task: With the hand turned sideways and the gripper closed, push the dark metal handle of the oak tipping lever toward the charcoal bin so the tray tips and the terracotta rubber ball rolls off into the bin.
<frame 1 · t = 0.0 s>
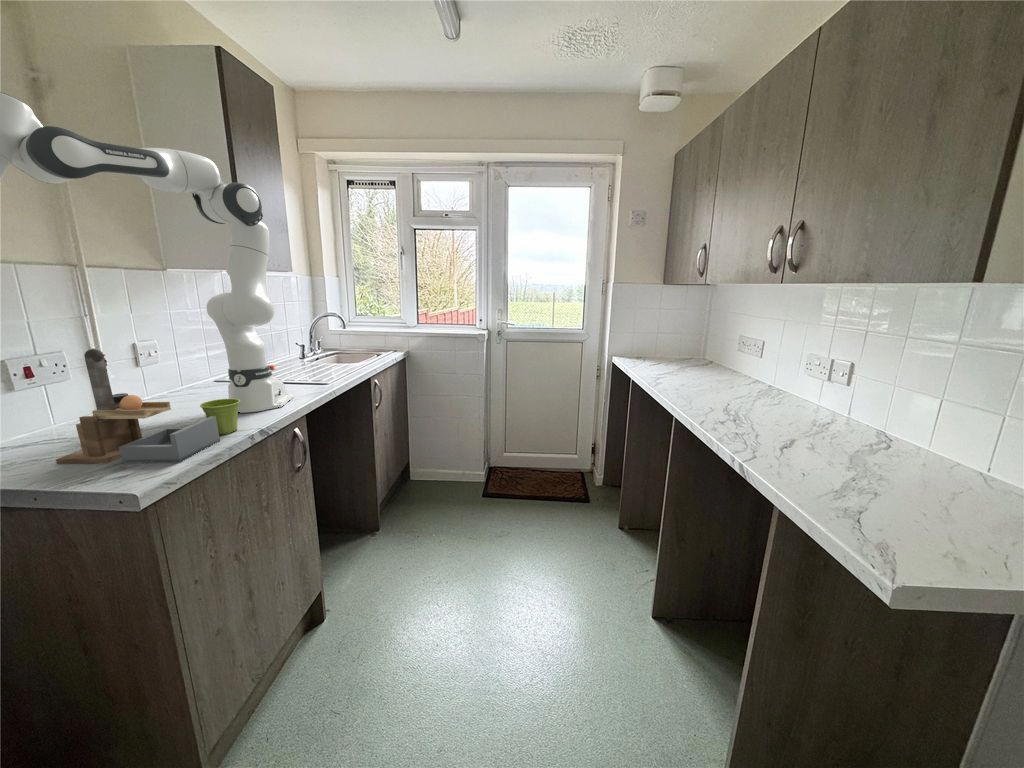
plant pot: (225, 432, 120), on the table
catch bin: (174, 451, 105), on the table
supplement bottle: (127, 433, 119), on the table
launcher: (123, 383, 101), point 18 cm above the table, hinge at 0.0°, touching ball
lever stand: (110, 452, 105), on the table
ball: (131, 403, 102), point 13 cm above the table, touching launcher
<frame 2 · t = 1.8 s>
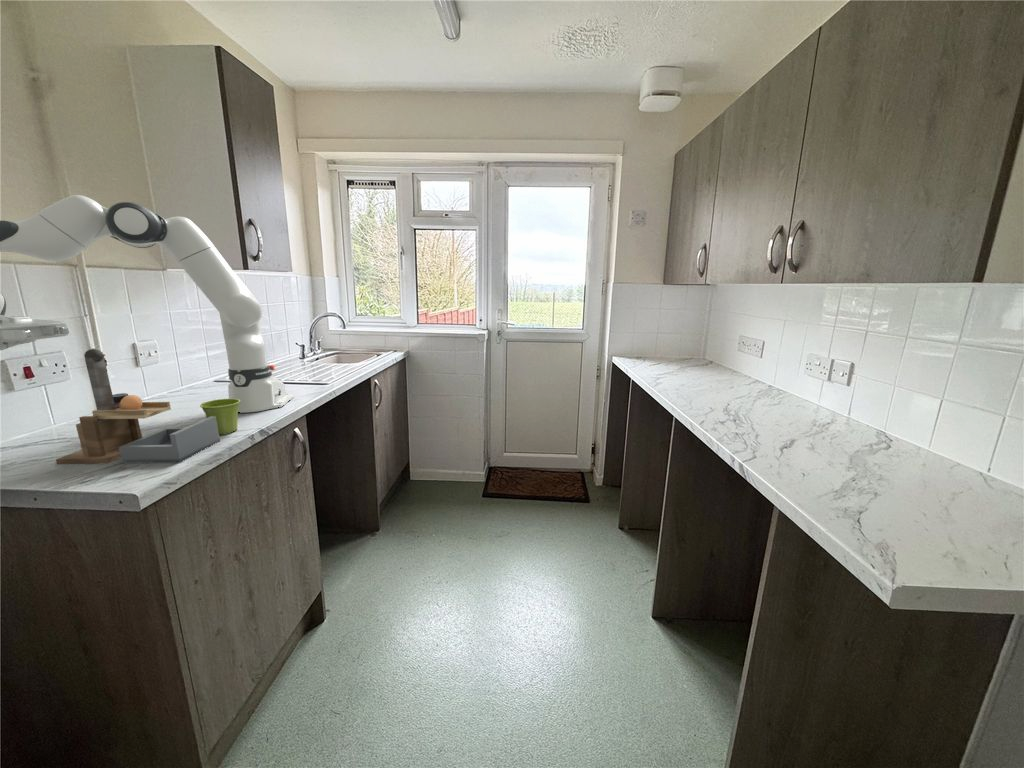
hand: (47, 332, 100), 30 cm above the table, tool horizontal, fingers open, 7 cm apart
nothing on the table moved.
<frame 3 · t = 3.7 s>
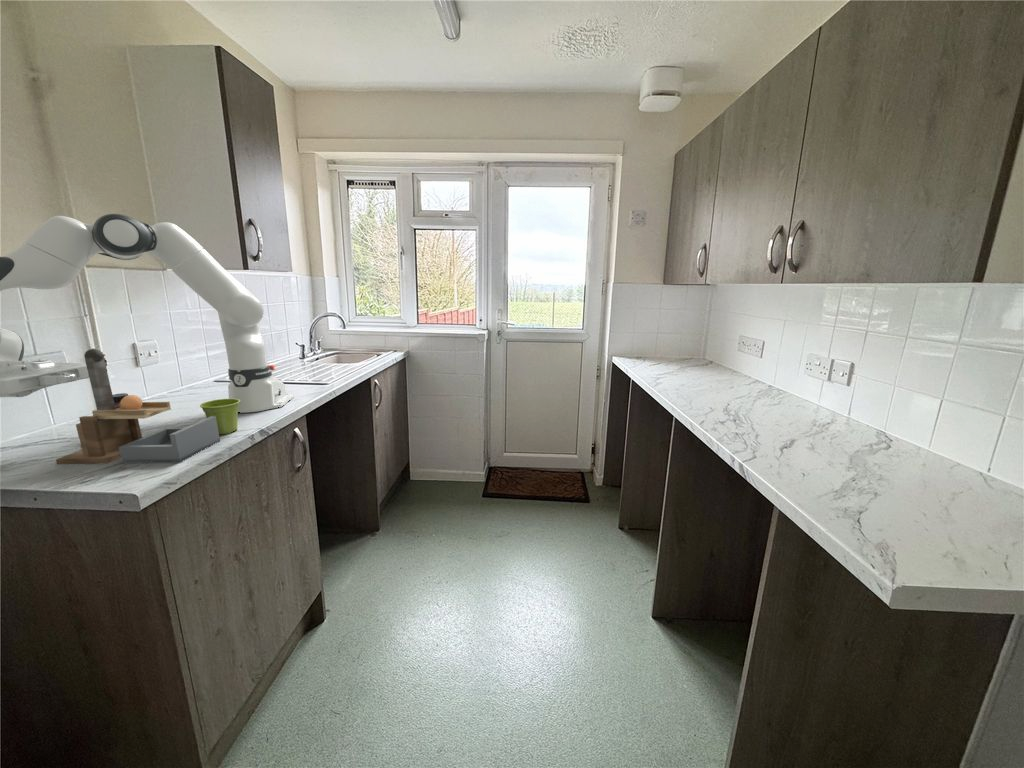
hand: (70, 378, 100), 19 cm above the table, tool horizontal, fingers closed
nothing on the table moved.
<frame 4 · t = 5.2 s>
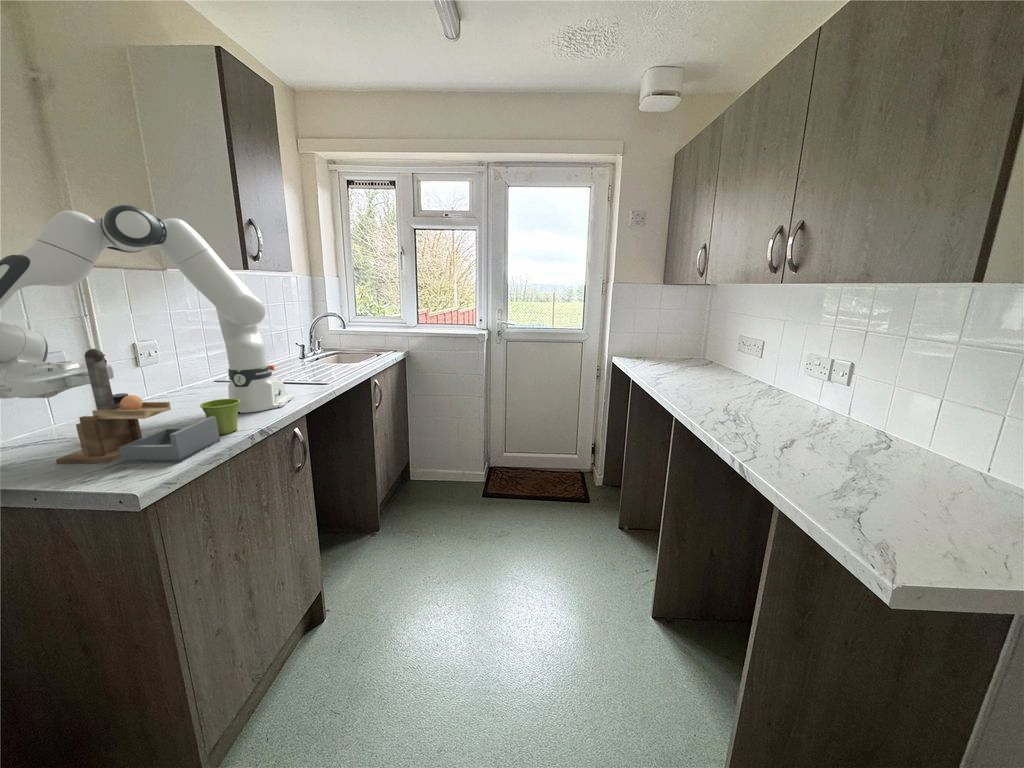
hand: (96, 379, 100), 19 cm above the table, tool horizontal, fingers closed, pressing on launcher
launcher: (123, 383, 101), point 18 cm above the table, hinge at -0.2°, touching ball, gripper
everything else where it was.
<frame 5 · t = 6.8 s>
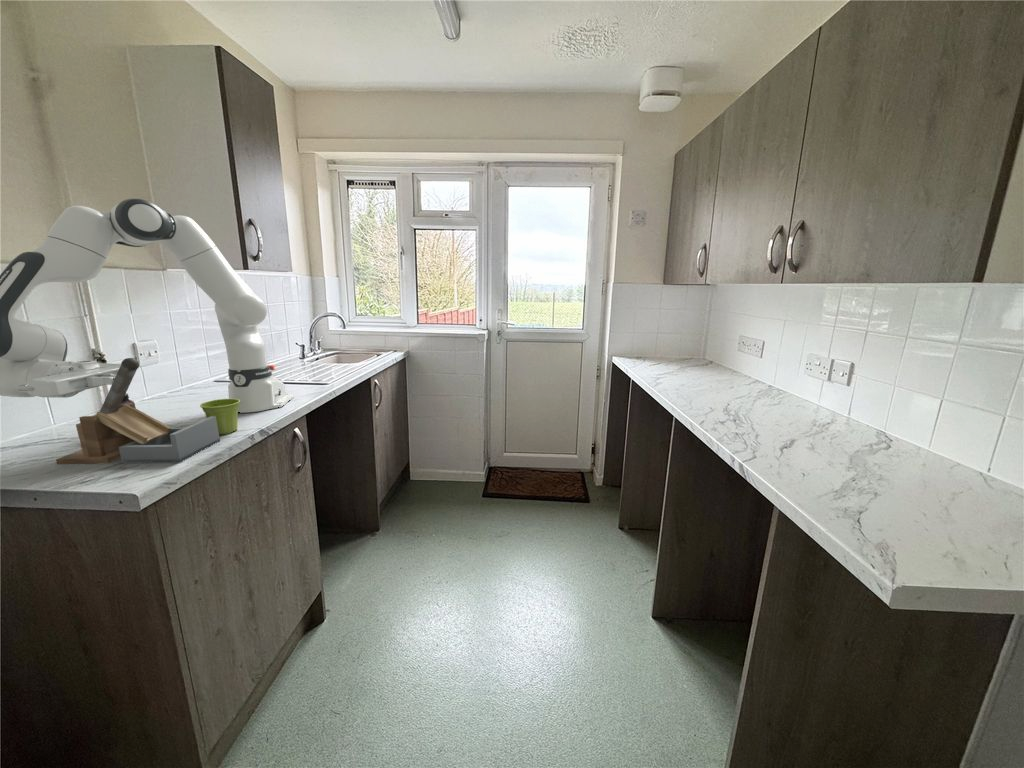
hand: (117, 379, 100), 19 cm above the table, tool horizontal, fingers closed, pressing on launcher
launcher: (140, 399, 102), point 14 cm above the table, hinge at -33.5°, touching gripper
ball: (184, 440, 104), point 3 cm above the table, tilted 17°, touching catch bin
everything else where it was.
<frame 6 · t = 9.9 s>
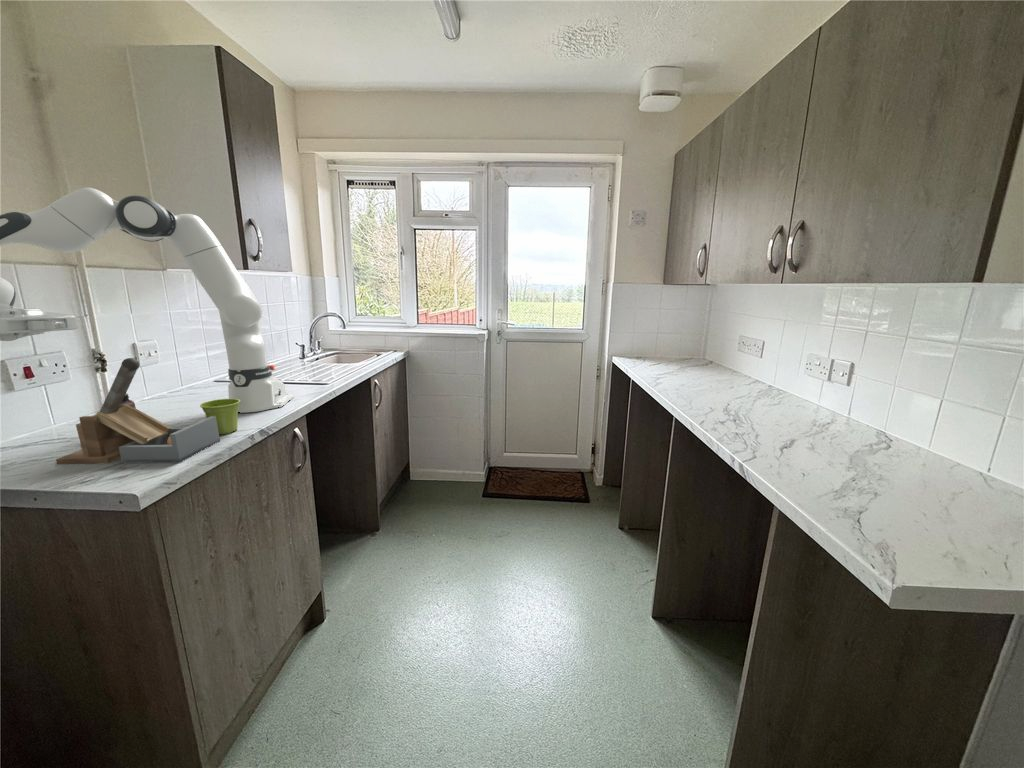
hand: (59, 325, 102), 32 cm above the table, tool horizontal, fingers closed
launcher: (140, 399, 102), point 14 cm above the table, hinge at -33.8°
ball: (177, 440, 104), point 3 cm above the table, tilted 66°, touching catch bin
everything else where it was.
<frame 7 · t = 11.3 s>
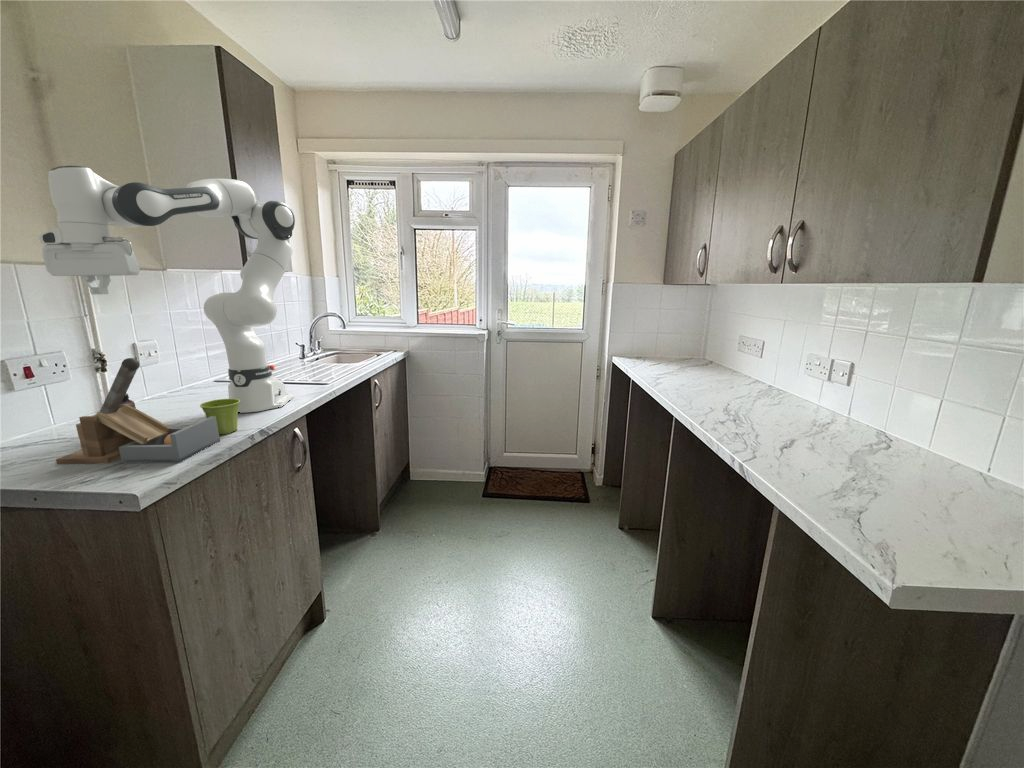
hand: (100, 294, 106), 39 cm above the table, tool pointing down, fingers closed
ball: (174, 440, 104), point 3 cm above the table, tilted 88°, touching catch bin
everything else where it was.
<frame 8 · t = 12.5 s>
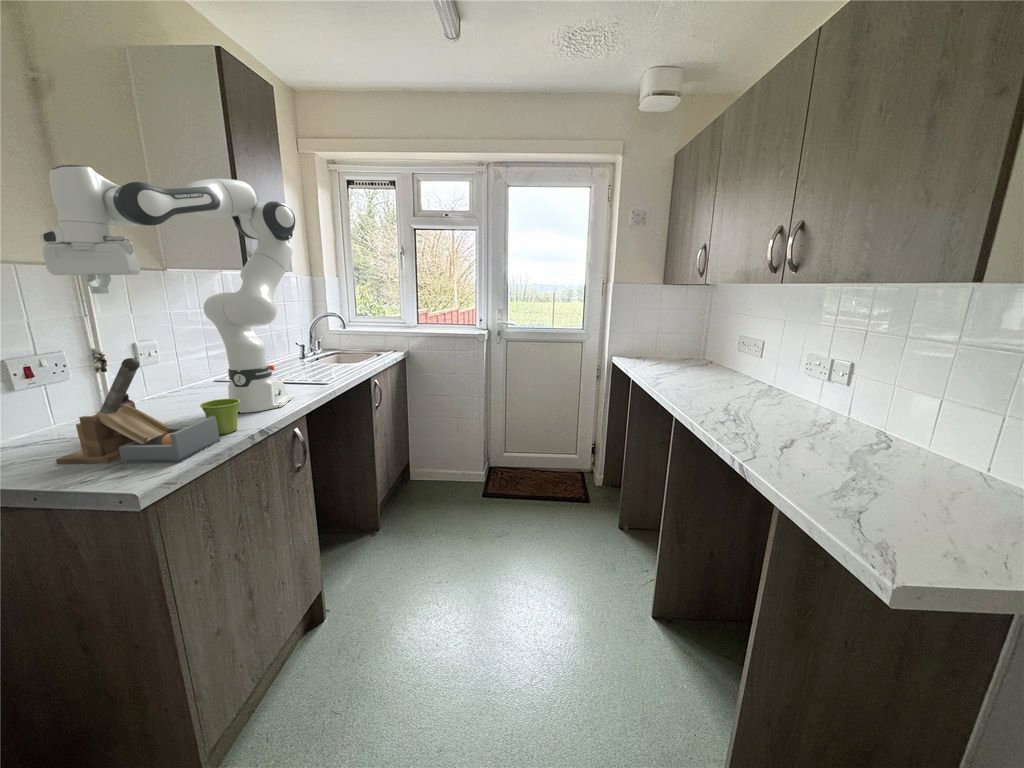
hand: (100, 293, 105), 39 cm above the table, tool pointing down, fingers closed
ball: (171, 441, 104), point 3 cm above the table, tilted 107°, touching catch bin
everything else where it was.
at the end: ball inside the target area on the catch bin (0.2 cm from its centre), point 2.8 cm above the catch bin's base; launcher at -34° (first picture: +0°) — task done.
